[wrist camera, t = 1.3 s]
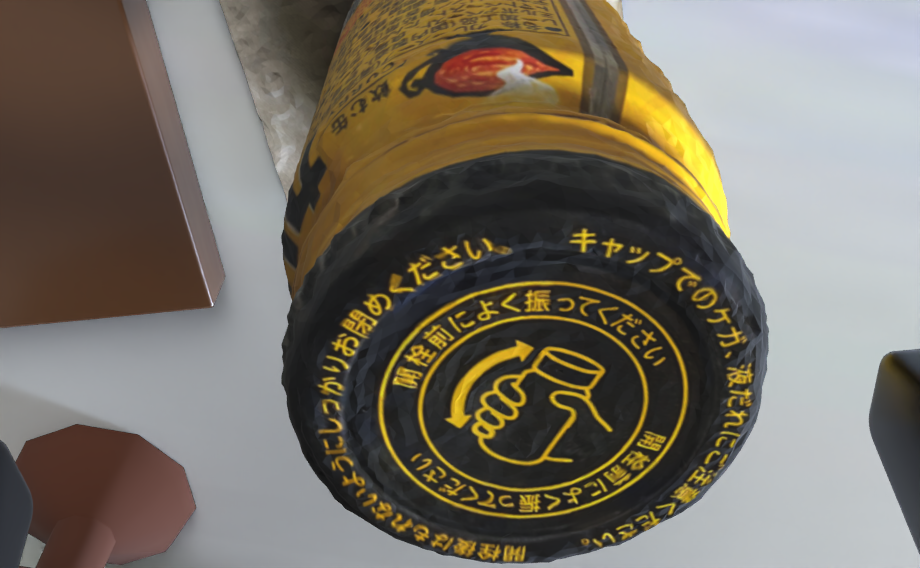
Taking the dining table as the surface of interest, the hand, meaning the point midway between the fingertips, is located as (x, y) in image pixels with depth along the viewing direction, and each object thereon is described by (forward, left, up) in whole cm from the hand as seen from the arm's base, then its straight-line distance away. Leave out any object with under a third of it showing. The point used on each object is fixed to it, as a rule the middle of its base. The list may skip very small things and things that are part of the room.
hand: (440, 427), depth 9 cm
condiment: (0, 0, -12) cm, 12 cm away
